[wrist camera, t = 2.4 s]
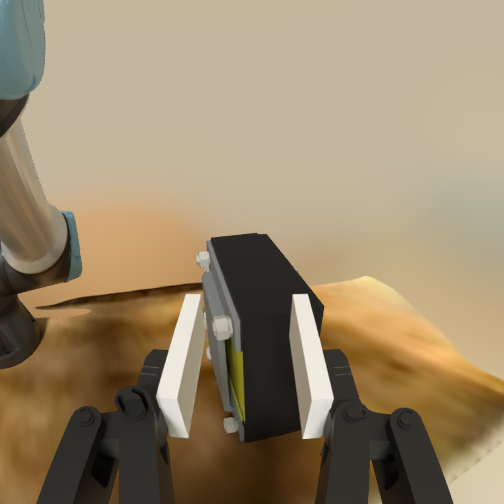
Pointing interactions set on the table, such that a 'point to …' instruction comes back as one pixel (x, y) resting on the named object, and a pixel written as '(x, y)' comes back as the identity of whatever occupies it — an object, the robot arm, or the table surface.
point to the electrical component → (253, 332)
